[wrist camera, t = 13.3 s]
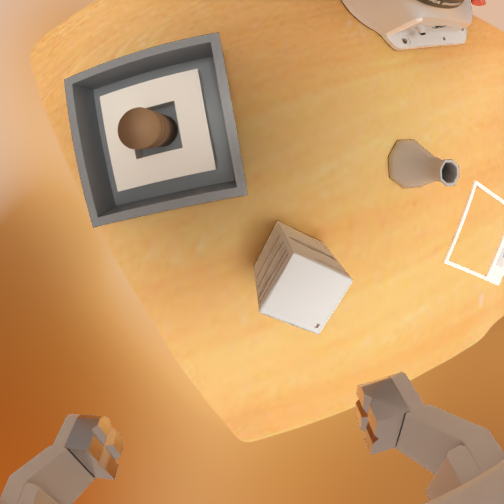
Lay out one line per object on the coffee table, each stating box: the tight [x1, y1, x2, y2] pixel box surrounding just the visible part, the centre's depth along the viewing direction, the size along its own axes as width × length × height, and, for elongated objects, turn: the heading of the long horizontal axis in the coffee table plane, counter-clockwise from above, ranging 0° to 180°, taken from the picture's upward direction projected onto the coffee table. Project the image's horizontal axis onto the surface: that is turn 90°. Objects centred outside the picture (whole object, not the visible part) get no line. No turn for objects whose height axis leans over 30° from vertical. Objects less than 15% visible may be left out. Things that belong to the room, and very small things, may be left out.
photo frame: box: [443, 180, 504, 286], centre depth 43 cm, size 15×1×18 cm
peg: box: [118, 107, 178, 150], centre depth 30 cm, size 4×4×10 cm
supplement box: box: [254, 221, 353, 334], centre depth 37 cm, size 7×7×13 cm
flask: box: [388, 140, 459, 188], centre depth 34 cm, size 7×7×10 cm
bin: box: [64, 32, 248, 228], centre depth 33 cm, size 18×18×7 cm
